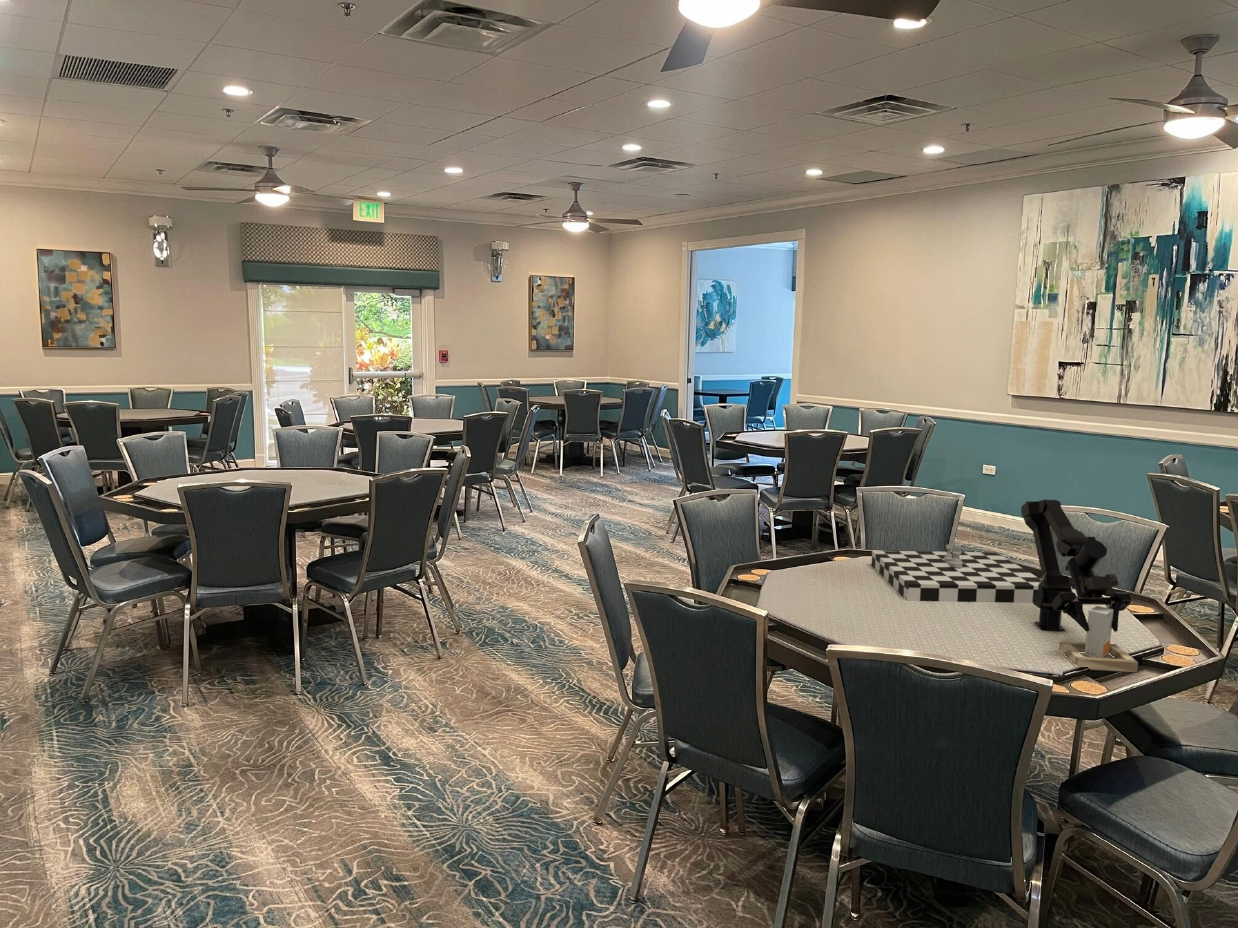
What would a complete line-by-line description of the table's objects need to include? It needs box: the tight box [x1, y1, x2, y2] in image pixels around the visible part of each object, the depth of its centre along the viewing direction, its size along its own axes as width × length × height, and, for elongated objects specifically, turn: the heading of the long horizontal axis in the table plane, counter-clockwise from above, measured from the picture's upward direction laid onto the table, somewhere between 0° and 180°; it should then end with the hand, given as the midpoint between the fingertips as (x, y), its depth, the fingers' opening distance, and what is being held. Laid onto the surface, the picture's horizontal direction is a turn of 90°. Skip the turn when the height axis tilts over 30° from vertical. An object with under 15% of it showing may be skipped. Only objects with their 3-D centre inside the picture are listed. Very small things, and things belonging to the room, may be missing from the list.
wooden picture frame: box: [1058, 640, 1139, 673], centre depth 234 cm, size 14×14×2 cm
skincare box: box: [1084, 605, 1113, 658], centre depth 233 cm, size 6×4×12 cm
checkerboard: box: [871, 541, 1041, 604], centre depth 307 cm, size 45×45×15 cm
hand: (1102, 631), depth 232 cm, fingers closed on skincare box, 7 cm apart
